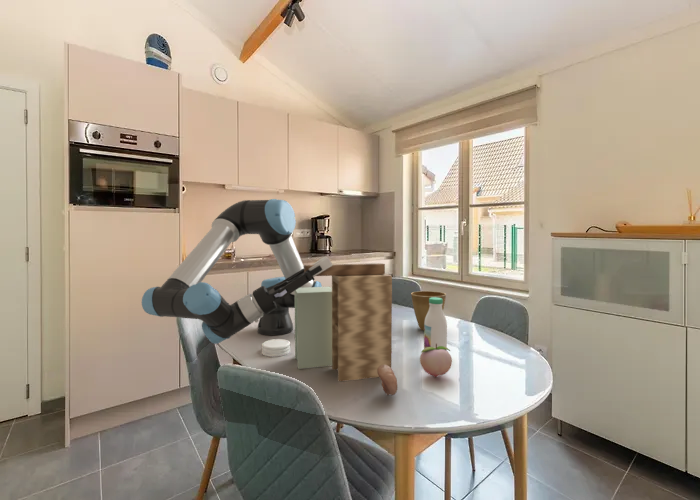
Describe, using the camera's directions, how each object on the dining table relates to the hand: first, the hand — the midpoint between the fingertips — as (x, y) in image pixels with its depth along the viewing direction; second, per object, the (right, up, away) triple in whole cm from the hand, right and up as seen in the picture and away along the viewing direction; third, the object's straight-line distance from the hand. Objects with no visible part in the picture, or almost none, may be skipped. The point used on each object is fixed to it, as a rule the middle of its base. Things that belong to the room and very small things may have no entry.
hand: (329, 260), depth 101 cm
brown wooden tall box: (+10, -34, +4) cm, 36 cm away
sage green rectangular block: (-6, -34, +13) cm, 37 cm away
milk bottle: (+36, -34, +19) cm, 53 cm away
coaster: (-20, -34, +22) cm, 45 cm away
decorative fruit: (+32, -35, 0) cm, 47 cm away
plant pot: (+41, -32, +51) cm, 72 cm away
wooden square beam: (+5, -4, +1) cm, 6 cm away
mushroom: (+16, -35, -11) cm, 40 cm away
